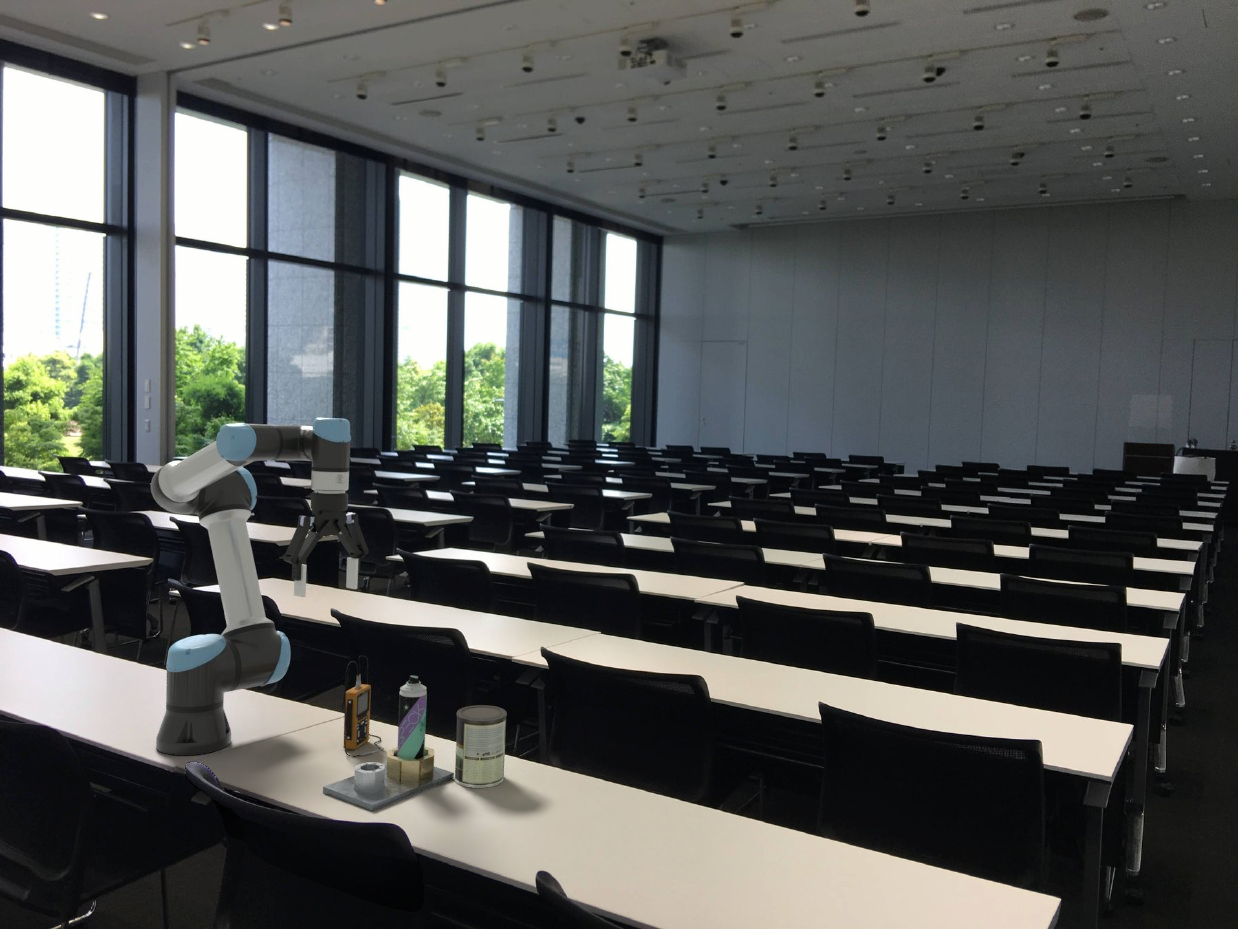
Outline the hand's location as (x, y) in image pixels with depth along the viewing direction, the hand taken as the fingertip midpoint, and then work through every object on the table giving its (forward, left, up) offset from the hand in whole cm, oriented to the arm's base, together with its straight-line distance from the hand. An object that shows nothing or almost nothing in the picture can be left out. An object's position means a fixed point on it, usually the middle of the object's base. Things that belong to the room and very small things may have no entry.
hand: (326, 592), depth 204 cm
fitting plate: (+20, +1, -37) cm, 42 cm away
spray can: (+20, +6, -36) cm, 41 cm away
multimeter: (0, +14, -37) cm, 39 cm away
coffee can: (+31, +15, -37) cm, 51 cm away
